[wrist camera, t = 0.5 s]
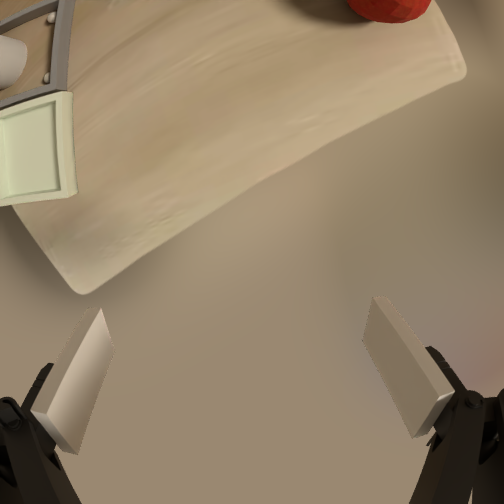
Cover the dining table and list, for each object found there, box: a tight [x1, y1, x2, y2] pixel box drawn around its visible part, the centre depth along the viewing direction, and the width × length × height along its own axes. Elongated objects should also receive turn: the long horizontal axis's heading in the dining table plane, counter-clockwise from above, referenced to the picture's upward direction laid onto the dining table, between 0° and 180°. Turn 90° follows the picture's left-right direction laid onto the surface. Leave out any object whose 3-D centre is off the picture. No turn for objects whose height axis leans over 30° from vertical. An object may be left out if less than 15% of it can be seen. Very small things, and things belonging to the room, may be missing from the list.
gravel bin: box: [0, 0, 75, 111], centre depth 25 cm, size 15×24×3 cm, turn 89°
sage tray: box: [0, 91, 78, 206], centre depth 32 cm, size 14×14×3 cm
